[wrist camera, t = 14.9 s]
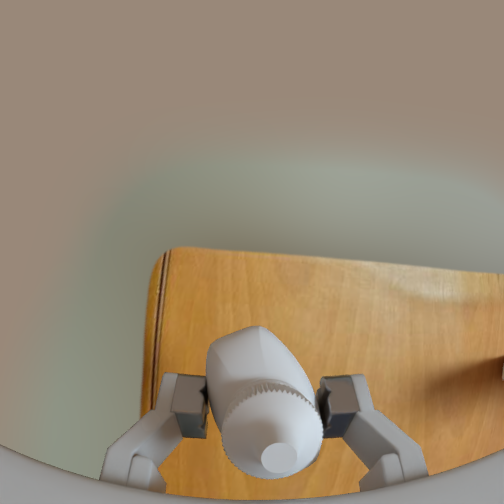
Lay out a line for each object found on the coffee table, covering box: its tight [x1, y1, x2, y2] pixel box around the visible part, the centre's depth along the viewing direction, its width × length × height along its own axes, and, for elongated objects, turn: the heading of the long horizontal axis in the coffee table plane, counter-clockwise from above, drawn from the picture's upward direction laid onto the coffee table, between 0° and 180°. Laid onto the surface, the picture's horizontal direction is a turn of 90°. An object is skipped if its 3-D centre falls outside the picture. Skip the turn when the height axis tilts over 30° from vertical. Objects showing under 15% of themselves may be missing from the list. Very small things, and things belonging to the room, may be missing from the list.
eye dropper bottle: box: [206, 326, 324, 479], centre depth 11 cm, size 4×6×12 cm
